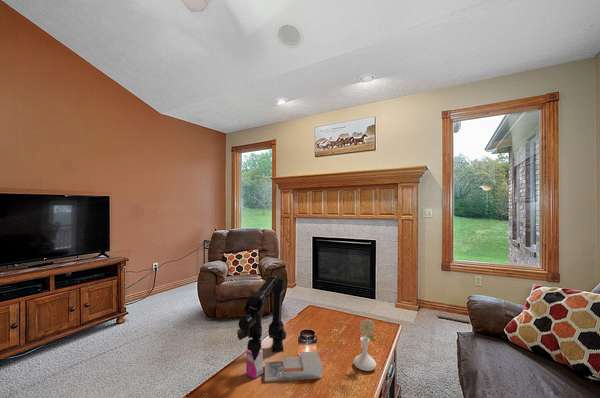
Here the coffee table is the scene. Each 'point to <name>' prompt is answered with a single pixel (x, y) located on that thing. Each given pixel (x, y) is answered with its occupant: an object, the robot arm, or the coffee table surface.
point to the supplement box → (254, 364)
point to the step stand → (294, 368)
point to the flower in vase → (365, 347)
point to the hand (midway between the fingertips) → (254, 354)
